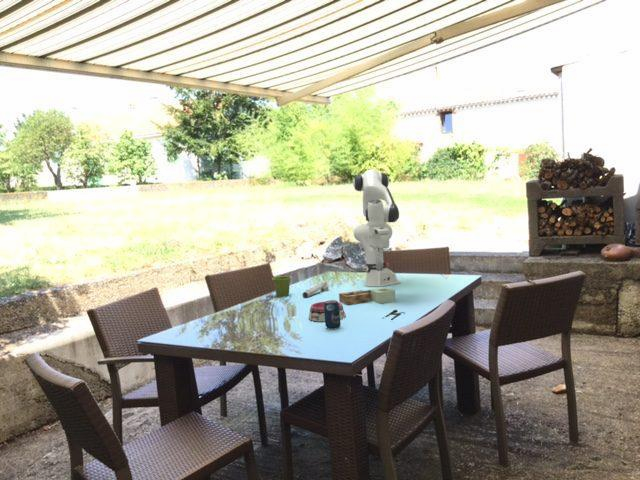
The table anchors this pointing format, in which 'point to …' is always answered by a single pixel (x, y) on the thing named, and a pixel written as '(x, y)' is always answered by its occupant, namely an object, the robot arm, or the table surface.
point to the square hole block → (383, 295)
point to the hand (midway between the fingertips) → (379, 255)
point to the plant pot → (282, 285)
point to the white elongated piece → (316, 289)
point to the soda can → (332, 314)
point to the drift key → (365, 291)
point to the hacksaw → (394, 314)
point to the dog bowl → (322, 312)
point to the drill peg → (378, 260)
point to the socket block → (354, 297)
